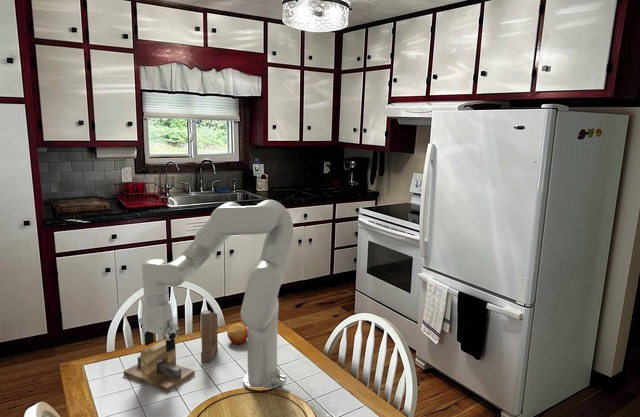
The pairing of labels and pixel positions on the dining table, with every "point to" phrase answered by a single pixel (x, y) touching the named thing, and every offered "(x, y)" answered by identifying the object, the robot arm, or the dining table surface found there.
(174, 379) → the rib board
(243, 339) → the fruit
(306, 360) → the dining table surface
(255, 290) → the robot arm
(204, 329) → the wooden block
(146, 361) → the wooden bridge block
